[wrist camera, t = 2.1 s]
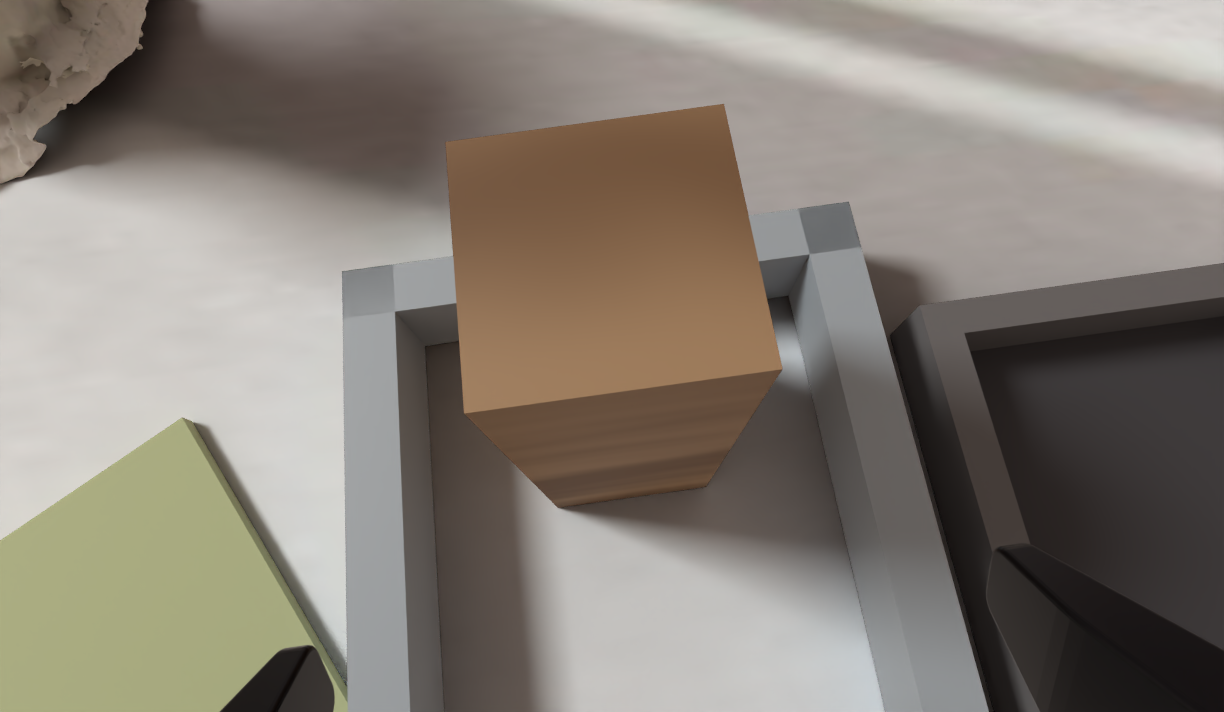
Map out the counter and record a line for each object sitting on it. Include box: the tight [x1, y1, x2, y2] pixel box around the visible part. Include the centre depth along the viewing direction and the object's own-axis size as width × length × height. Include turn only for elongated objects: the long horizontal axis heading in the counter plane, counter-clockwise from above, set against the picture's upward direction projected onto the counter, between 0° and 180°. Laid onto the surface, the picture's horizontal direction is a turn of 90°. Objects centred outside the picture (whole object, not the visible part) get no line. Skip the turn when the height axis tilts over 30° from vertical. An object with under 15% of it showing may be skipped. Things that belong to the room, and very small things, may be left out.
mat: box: [0, 418, 348, 712], centre depth 20 cm, size 11×11×1 cm
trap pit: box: [890, 263, 1224, 712], centre depth 19 cm, size 14×12×2 cm
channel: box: [342, 202, 989, 712], centre depth 19 cm, size 18×15×3 cm
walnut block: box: [445, 104, 782, 508], centre depth 16 cm, size 4×4×12 cm
